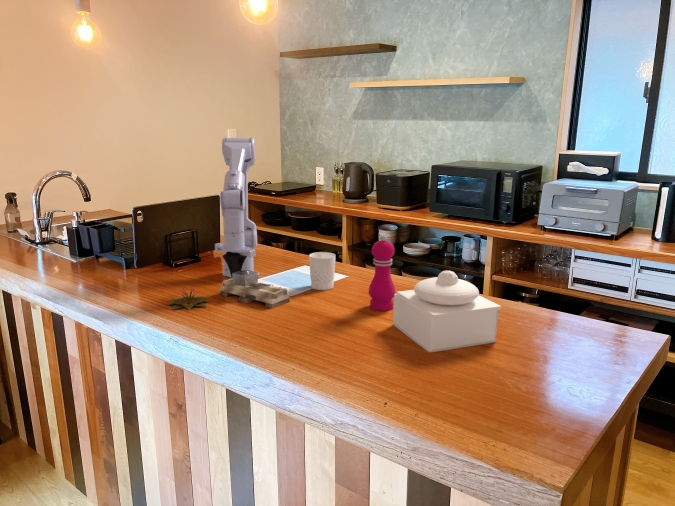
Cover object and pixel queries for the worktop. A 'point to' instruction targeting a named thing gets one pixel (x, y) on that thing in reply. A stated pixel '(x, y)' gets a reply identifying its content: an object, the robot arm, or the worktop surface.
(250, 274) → the block
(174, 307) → the green leafy spiky piece
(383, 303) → the pepper mill
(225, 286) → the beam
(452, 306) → the butter dish
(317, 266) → the white cup
